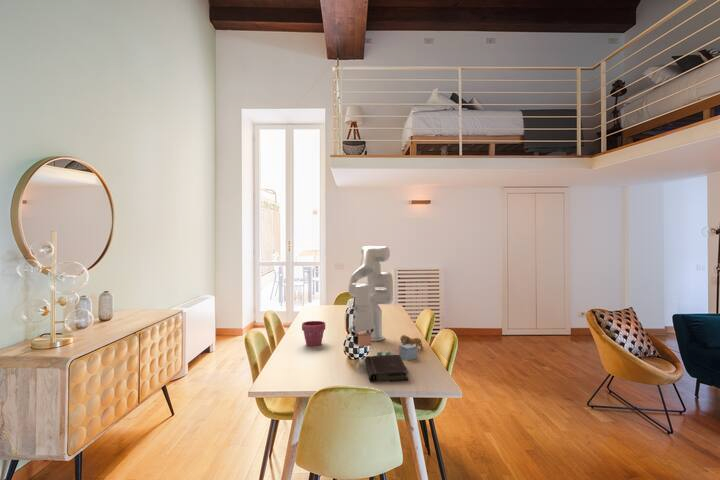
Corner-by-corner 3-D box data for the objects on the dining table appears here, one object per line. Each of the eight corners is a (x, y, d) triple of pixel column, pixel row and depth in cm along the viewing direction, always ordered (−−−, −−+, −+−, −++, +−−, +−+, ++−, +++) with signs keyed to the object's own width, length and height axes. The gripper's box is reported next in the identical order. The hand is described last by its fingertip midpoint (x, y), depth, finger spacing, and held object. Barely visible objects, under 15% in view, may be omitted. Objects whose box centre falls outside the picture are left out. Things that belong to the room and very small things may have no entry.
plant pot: (310, 339, 245) (310, 319, 245) (329, 342, 239) (329, 321, 238) (297, 345, 232) (297, 324, 232) (317, 348, 226) (317, 326, 226)
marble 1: (377, 352, 208) (376, 357, 209) (382, 352, 208) (382, 357, 209) (376, 349, 211) (376, 355, 212) (382, 350, 211) (382, 355, 212)
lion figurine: (402, 352, 217) (402, 336, 217) (398, 350, 222) (398, 334, 222) (425, 349, 223) (425, 334, 222) (420, 347, 227) (420, 332, 227)
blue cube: (399, 356, 209) (398, 345, 209) (409, 354, 213) (409, 343, 213) (407, 360, 203) (407, 349, 203) (417, 358, 207) (417, 347, 207)
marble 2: (385, 349, 211) (383, 355, 210) (389, 350, 209) (388, 356, 208) (388, 351, 213) (387, 356, 212) (392, 352, 210) (391, 357, 210)
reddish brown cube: (359, 347, 197) (359, 335, 197) (352, 344, 203) (352, 332, 203) (371, 345, 201) (371, 333, 201) (364, 342, 207) (364, 330, 207)
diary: (369, 384, 173) (369, 373, 173) (364, 365, 198) (364, 355, 198) (410, 382, 174) (410, 371, 174) (401, 364, 199) (400, 354, 199)
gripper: (351, 311, 195) (351, 346, 194) (379, 308, 204) (379, 342, 203) (343, 309, 201) (343, 343, 201) (372, 306, 210) (372, 339, 210)
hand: (362, 342), depth 202 cm, fingers closed on reddish brown cube, 7 cm apart
